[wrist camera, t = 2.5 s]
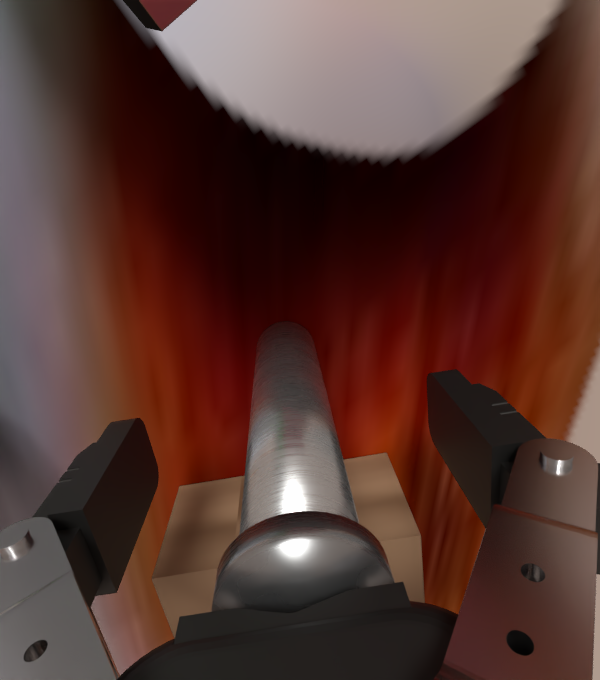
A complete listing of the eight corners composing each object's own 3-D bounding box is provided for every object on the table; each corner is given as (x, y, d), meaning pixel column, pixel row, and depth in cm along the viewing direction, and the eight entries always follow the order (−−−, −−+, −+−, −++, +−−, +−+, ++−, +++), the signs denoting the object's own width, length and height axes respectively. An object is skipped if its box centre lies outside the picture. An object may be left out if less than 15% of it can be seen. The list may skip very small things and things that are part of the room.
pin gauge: (242, 320, 16) (191, 560, 6) (316, 308, 16) (392, 527, 6) (256, 386, 17) (232, 688, 7) (326, 375, 17) (404, 660, 7)
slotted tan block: (179, 486, 18) (151, 578, 14) (386, 452, 18) (420, 534, 14) (223, 627, 21) (212, 737, 17) (399, 599, 21) (430, 701, 17)
